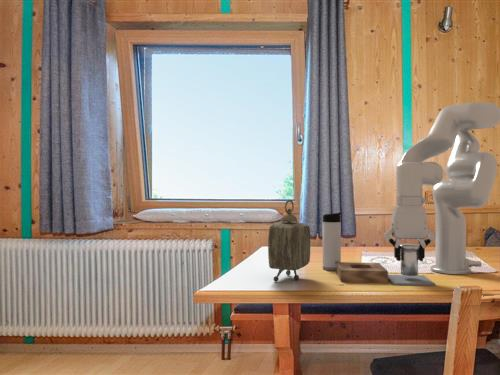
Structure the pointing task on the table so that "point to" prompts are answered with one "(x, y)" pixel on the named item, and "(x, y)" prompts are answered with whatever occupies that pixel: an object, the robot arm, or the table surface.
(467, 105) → the robot arm
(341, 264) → the brown wooden square slab
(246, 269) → the table surface
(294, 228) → the tabletop clock
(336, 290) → the table surface
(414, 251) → the end cap
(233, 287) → the table surface
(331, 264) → the travel mug
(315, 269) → the table surface
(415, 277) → the mat
